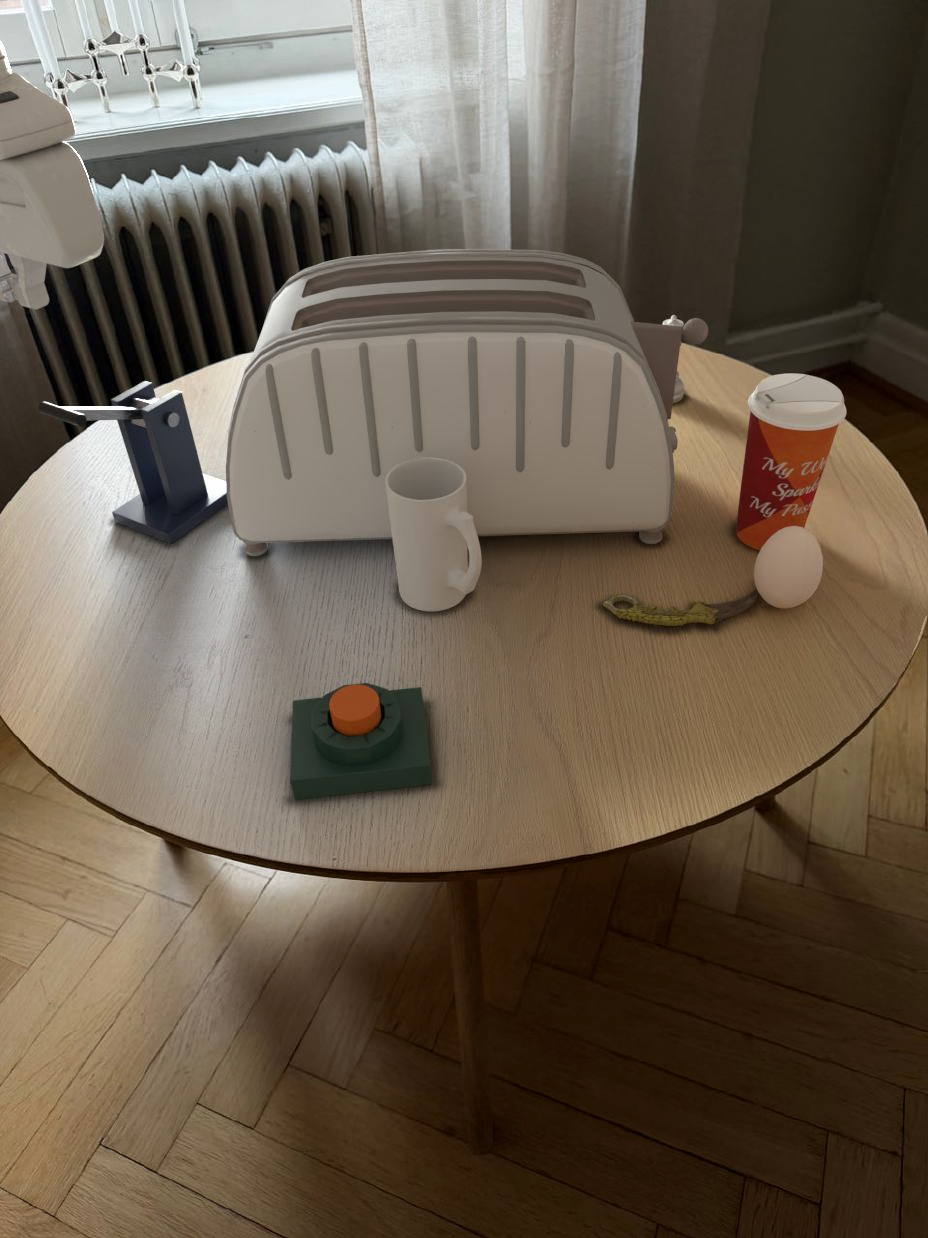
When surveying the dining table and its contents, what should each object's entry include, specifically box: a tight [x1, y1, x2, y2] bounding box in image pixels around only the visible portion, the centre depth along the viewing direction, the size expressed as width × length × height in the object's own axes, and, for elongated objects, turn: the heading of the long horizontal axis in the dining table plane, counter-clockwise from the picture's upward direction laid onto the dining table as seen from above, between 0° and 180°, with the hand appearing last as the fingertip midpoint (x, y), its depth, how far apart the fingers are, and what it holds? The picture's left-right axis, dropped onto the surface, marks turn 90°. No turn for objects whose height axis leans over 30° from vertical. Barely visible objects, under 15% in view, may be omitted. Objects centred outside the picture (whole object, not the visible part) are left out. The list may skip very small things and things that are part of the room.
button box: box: [289, 682, 433, 801], centre depth 68 cm, size 10×8×4 cm
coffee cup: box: [735, 372, 847, 551], centre depth 84 cm, size 8×8×15 cm
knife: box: [602, 587, 760, 627], centre depth 80 cm, size 14×1×5 cm
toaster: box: [225, 248, 709, 557], centre depth 88 cm, size 21×45×22 cm, turn 90°
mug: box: [385, 457, 483, 613], centre depth 79 cm, size 10×7×12 cm, turn 40°
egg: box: [753, 526, 824, 609], centre depth 79 cm, size 6×6×8 cm
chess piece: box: [662, 314, 685, 404], centre depth 107 cm, size 4×4×10 cm
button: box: [329, 684, 381, 736], centre depth 67 cm, size 4×4×2 cm
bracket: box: [110, 380, 228, 545], centre depth 92 cm, size 10×8×13 cm
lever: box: [37, 397, 159, 428], centre depth 85 cm, size 12×5×2 cm, turn 149°
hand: (23, 302), depth 74 cm, fingers closed
